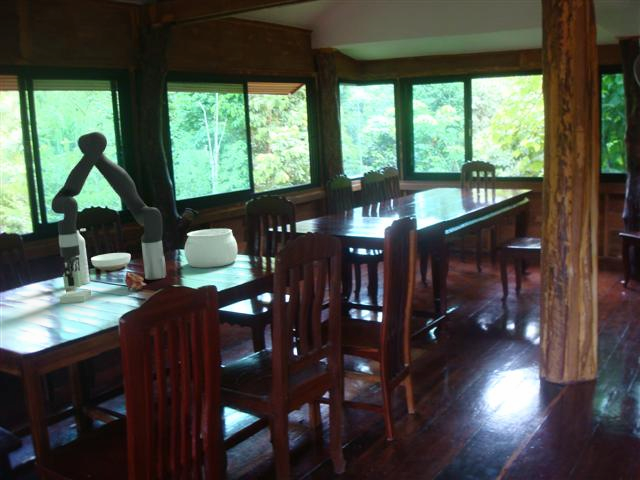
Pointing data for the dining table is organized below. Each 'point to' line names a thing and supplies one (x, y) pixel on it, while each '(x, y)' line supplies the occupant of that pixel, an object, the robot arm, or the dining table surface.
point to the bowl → (111, 261)
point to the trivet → (75, 296)
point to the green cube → (77, 280)
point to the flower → (133, 281)
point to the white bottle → (83, 258)
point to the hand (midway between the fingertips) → (73, 284)
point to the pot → (210, 248)
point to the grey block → (70, 289)
